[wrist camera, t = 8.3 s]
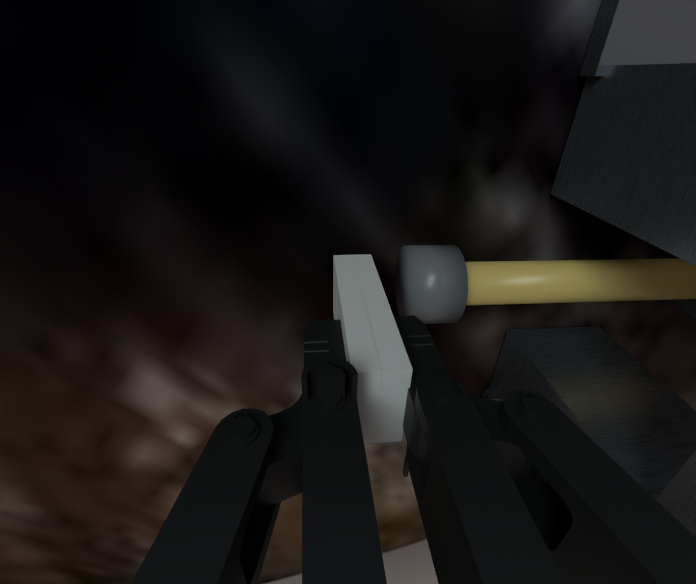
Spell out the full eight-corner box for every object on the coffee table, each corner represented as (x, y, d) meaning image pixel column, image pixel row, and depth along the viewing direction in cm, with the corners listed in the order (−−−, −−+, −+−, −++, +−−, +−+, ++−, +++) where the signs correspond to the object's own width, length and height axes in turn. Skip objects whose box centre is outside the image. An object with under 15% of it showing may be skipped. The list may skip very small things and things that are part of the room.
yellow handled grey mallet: (392, 304, 17) (427, 402, 12) (400, 224, 15) (447, 301, 10) (749, 295, 19) (912, 376, 14) (800, 221, 17) (1013, 286, 12)
